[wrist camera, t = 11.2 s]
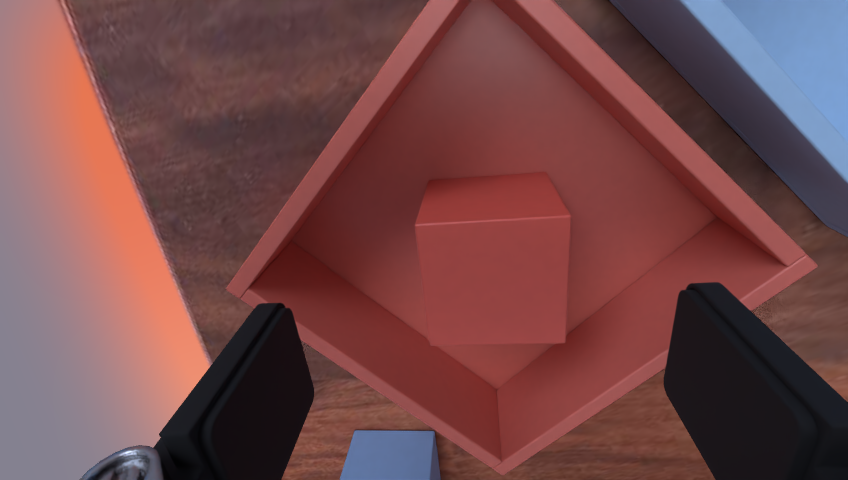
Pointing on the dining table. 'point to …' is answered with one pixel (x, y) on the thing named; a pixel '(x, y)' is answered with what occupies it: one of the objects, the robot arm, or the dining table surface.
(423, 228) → the red block
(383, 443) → the blue block
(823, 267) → the dining table surface
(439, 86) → the red bin
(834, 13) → the blue bin
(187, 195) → the dining table surface
